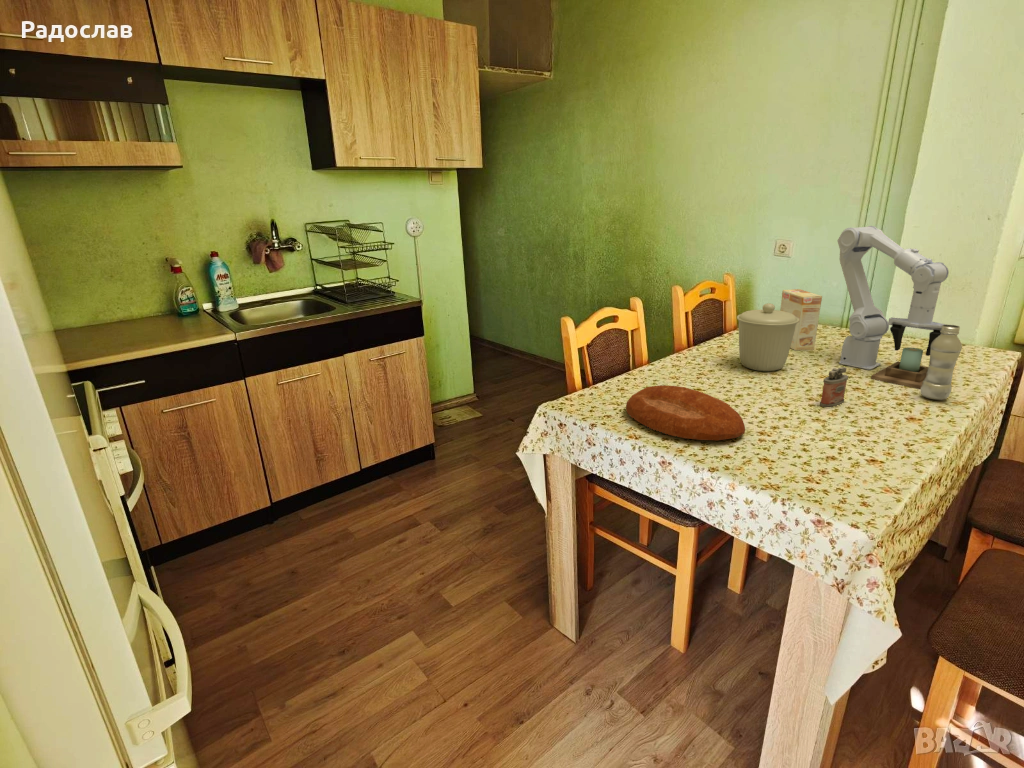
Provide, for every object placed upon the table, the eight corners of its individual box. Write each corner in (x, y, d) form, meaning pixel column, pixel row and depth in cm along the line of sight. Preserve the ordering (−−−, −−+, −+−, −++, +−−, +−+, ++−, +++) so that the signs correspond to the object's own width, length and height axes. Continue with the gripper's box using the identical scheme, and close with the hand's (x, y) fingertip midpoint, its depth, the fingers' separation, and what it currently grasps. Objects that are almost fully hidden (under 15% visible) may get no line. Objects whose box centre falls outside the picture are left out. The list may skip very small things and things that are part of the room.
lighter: (828, 409, 138) (834, 373, 135) (816, 405, 141) (821, 369, 137) (847, 402, 141) (853, 367, 138) (834, 398, 144) (840, 364, 141)
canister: (731, 373, 168) (738, 308, 161) (732, 357, 184) (738, 297, 177) (794, 377, 161) (804, 310, 154) (789, 360, 177) (798, 298, 170)
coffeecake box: (814, 350, 187) (823, 295, 180) (794, 350, 187) (802, 296, 181) (794, 339, 201) (801, 288, 194) (775, 340, 201) (781, 289, 195)
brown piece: (870, 378, 157) (872, 367, 156) (889, 368, 165) (891, 357, 164) (926, 390, 147) (929, 378, 145) (943, 378, 154) (946, 367, 153)
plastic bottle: (942, 394, 143) (960, 323, 136) (953, 403, 137) (972, 329, 130) (914, 393, 145) (930, 322, 138) (923, 401, 139) (941, 328, 132)
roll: (894, 375, 156) (900, 349, 153) (901, 372, 159) (906, 346, 156) (913, 379, 152) (919, 352, 150) (920, 375, 155) (925, 349, 152)
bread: (654, 396, 153) (655, 367, 150) (763, 426, 130) (767, 393, 127) (605, 418, 139) (605, 387, 136) (717, 457, 117) (720, 421, 114)
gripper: (887, 305, 152) (878, 350, 156) (949, 312, 141) (937, 360, 145) (897, 301, 156) (888, 345, 160) (958, 308, 145) (946, 355, 149)
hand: (912, 352), depth 153 cm, fingers open, 7 cm apart
